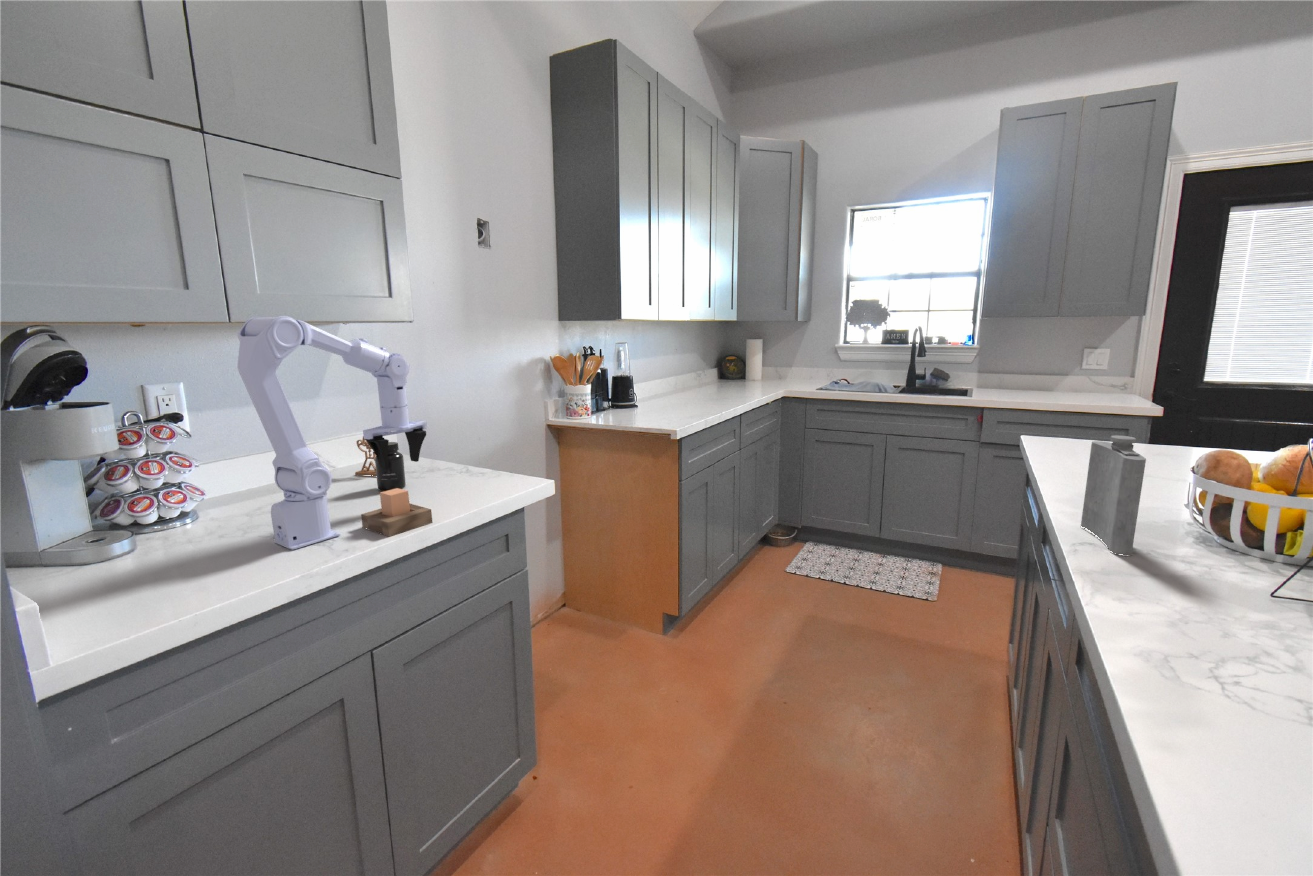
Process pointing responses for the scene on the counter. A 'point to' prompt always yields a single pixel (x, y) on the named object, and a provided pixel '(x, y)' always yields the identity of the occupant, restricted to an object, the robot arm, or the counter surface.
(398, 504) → the peg
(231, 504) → the counter surface
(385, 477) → the supplement bottle
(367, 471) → the gingerbread man figurine
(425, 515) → the socket block
